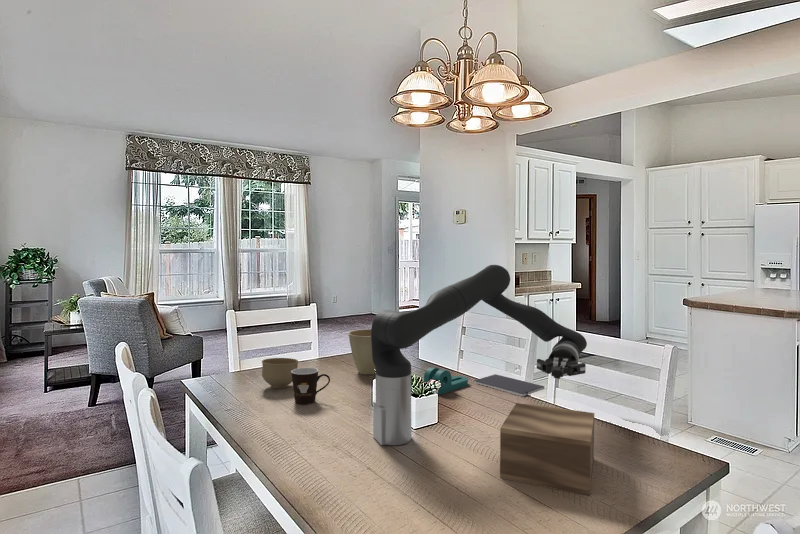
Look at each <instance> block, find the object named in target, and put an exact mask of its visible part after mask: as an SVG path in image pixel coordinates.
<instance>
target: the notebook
mask: <svg viewBox="0 0 800 534" xmlns="http://www.w3.org/2000/svg"><path fill="white" fill-rule="evenodd" d="M474 384H476V385H479V384H480V385H479V386H482V385H484V386H483V387H486V386H488V387H487V388H490V387H491V388H490V389H493V388H494V390H497V389H498V390H497V391H500V390H501V391H502V392H504V391H505V393H509V394H512V395H515V396H519V397H526V396H529V395H531V394H535V393H537V392H539V391H543V390H545V386H544V385H541V384H537V383H532V382H530V381H529V382H528V381H525V380H520V379H516V378H513V377H508V376H504V375H500V374H497V373H495V374H492V375H488V376H485V377H482V378H481V377H480V378H477V379H474Z"/></svg>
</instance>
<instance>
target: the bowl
mask: <svg viewBox="0 0 800 534" xmlns="http://www.w3.org/2000/svg"><path fill="white" fill-rule="evenodd" d="M261 364H262V365H261V366H262V368H261V369H262V371H261V377H262V378H263V381H265V382H266V383H267V384H268V385H269V386H270V387H271V388H272V389H277V390H278V389H279V390H282V389H286V388H287V387H288V386H289V385H291V384H292V383H293V382H292V374H291V371H292V370H294V369H297V368H299V367H298V365H299V360H298V359H296V358H292V357H291V358H288V357H271V358H266V359H263V360H261Z"/></svg>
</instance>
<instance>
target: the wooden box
mask: <svg viewBox="0 0 800 534" xmlns="http://www.w3.org/2000/svg"><path fill="white" fill-rule="evenodd" d="M499 432H500V431H499ZM499 440H500V441H499V444H500V445H499V448H500V449H499V450H500V453H499V478H500V479H504V480H509V481H513V482H519V483H524V484H529V485H534V486H538V487H542V488H543V487H544V488H550V489H556V490H560V491H565V492H569V493H574V494H579V495H580V494H581V495H585V496H590V494H591V485H592V478H593V470H594V469H593V467H594V462H595V461H594V458H595V422H594V423H593V431H592V438H591V445H590V446H584V445H577V444H571V443H565V442H558V441H552V440H546V439H539V438H533V437H527V436H520V435H514V434H508V433H501V432H500V435H499Z"/></svg>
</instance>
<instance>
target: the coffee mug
mask: <svg viewBox="0 0 800 534" xmlns="http://www.w3.org/2000/svg"><path fill="white" fill-rule="evenodd" d="M291 374H292V382H291V383H292V389H293V396H294V403H295V405H296V404H297V405H301V406H302V405H303V406H306V405H310V404H311V405H312V404H314V403H315V402H316V397H317V394H318V393H319V392H321V391H323V390H324V389H325V388H326V387H327V386H329V384H330V382H331V377H330V376H329V375H328V374H326V373H321V374H319V369H318V368H316V367H297V369H294V370H292V371H291ZM321 377H326V378H327V379H328V382H327V383H326V384H325V385H324V386H323V387H320V388H319V389H318V382H319V380H320V379H321ZM317 389H318V390H317Z"/></svg>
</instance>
